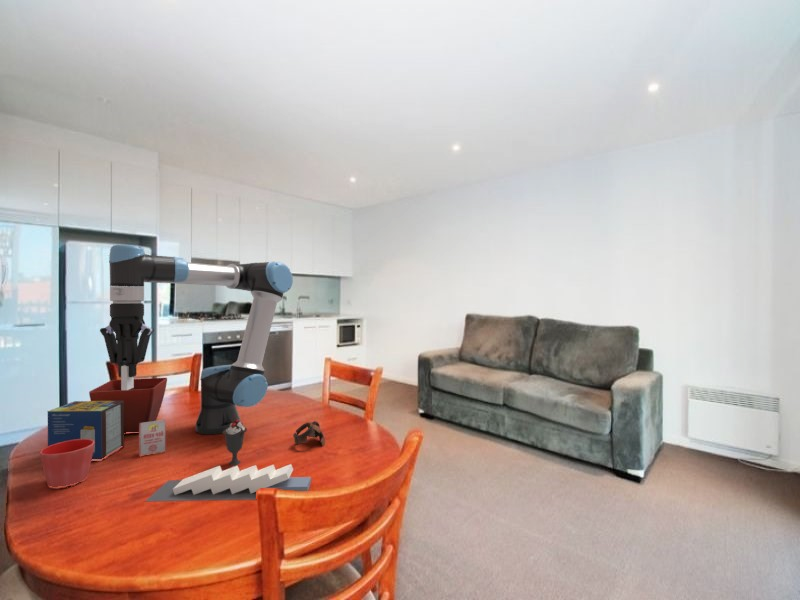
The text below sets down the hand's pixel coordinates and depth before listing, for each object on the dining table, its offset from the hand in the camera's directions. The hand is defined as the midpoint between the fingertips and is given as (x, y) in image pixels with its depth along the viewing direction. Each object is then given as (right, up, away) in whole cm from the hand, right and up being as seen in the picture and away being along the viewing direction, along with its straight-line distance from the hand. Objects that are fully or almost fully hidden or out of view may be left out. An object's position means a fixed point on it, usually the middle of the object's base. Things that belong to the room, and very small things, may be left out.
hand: (127, 388), depth 101 cm
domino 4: (+32, -24, -6) cm, 40 cm away
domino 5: (+37, -24, -6) cm, 44 cm away
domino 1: (+18, -23, -7) cm, 30 cm away
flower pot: (-14, -25, -2) cm, 28 cm away
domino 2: (+23, -24, -6) cm, 33 cm away
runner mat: (+29, -25, -6) cm, 38 cm away
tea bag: (-4, -24, +16) cm, 30 cm away
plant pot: (-25, -24, +36) cm, 50 cm away
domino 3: (+27, -24, -6) cm, 37 cm away
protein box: (-23, -24, +14) cm, 36 cm away
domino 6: (+41, -24, -5) cm, 47 cm away
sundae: (+25, -25, +9) cm, 36 cm away
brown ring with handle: (+44, -25, +25) cm, 56 cm away
